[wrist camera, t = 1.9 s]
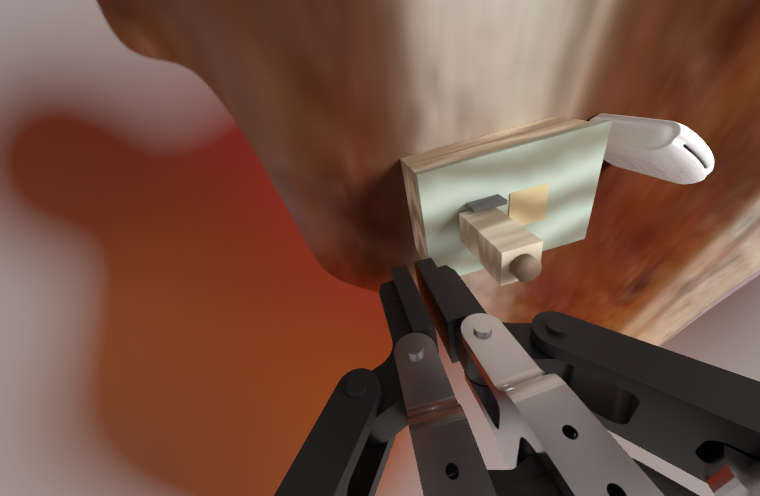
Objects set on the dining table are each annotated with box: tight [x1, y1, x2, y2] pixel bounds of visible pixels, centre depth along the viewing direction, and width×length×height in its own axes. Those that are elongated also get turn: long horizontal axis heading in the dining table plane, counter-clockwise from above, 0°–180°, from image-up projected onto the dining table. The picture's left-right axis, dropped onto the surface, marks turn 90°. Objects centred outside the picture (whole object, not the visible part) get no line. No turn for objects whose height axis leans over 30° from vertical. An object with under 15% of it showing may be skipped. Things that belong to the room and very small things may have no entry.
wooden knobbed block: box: [459, 207, 543, 286], centre depth 29 cm, size 4×4×10 cm
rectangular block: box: [400, 116, 612, 276], centre depth 37 cm, size 16×23×10 cm
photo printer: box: [589, 114, 714, 184], centre depth 36 cm, size 10×4×12 cm, turn 61°
